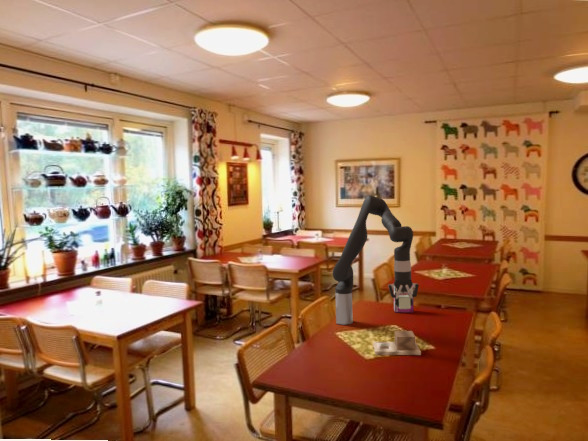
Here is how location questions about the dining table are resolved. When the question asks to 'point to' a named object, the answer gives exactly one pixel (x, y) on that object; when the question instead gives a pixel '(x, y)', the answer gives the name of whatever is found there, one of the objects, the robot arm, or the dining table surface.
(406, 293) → the candy bar box
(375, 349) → the birch board
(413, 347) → the walnut base block
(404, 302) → the sage cube
